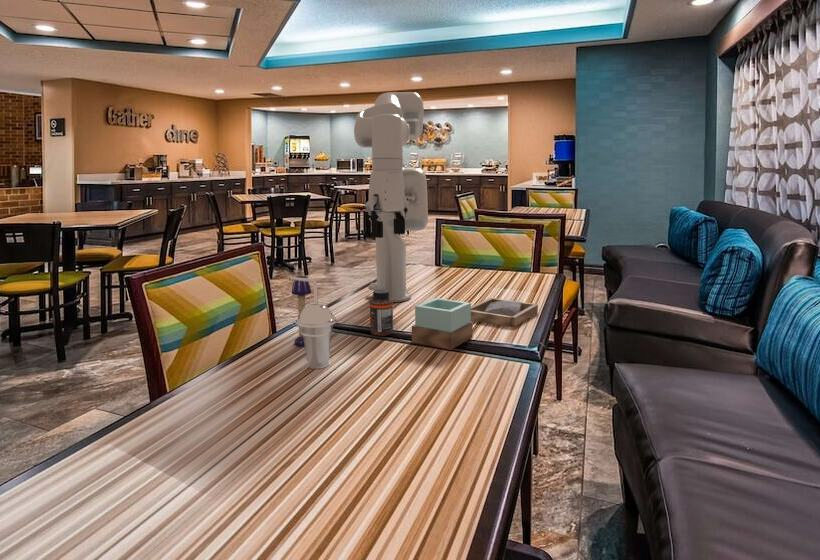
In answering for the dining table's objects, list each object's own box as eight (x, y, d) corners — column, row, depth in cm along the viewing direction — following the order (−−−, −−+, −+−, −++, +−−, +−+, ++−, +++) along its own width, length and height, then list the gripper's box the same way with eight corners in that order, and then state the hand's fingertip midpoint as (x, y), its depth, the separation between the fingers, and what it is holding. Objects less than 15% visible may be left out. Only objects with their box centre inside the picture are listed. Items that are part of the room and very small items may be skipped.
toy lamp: (295, 340, 135) (291, 275, 132) (314, 340, 135) (311, 274, 132) (293, 347, 130) (289, 279, 127) (312, 346, 131) (309, 278, 127)
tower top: (415, 325, 133) (415, 306, 132) (436, 316, 141) (436, 297, 140) (451, 332, 127) (451, 311, 126) (470, 322, 135) (470, 302, 134)
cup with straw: (331, 373, 114) (327, 279, 109) (290, 371, 115) (285, 278, 111) (342, 359, 122) (339, 271, 118) (304, 357, 123) (300, 270, 119)
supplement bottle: (367, 331, 142) (366, 289, 140) (389, 328, 144) (388, 287, 142) (373, 337, 137) (372, 294, 135) (396, 335, 139) (395, 292, 136)
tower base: (411, 343, 134) (411, 326, 133) (434, 332, 143) (434, 315, 142) (450, 351, 128) (450, 333, 127) (472, 339, 137) (472, 321, 136)
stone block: (486, 327, 152) (521, 322, 149) (482, 310, 151) (518, 305, 149) (489, 317, 163) (523, 312, 161) (487, 302, 163) (520, 296, 160)
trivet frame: (463, 318, 153) (463, 310, 153) (490, 305, 167) (490, 297, 167) (514, 327, 145) (514, 318, 144) (538, 312, 159) (538, 304, 158)
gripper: (394, 167, 143) (395, 232, 146) (353, 166, 129) (355, 238, 132) (418, 166, 139) (419, 233, 142) (379, 165, 125) (380, 239, 128)
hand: (388, 235), depth 137 cm, fingers open, 9 cm apart
